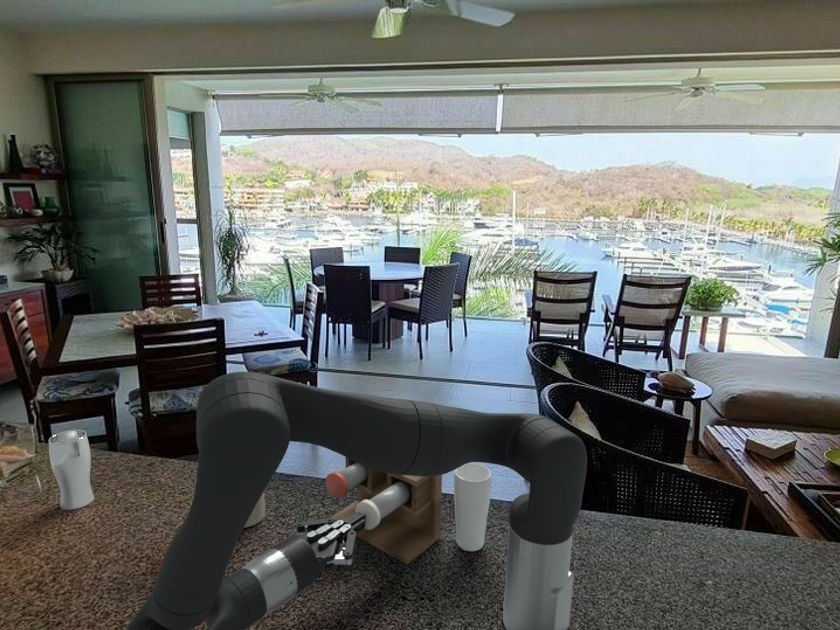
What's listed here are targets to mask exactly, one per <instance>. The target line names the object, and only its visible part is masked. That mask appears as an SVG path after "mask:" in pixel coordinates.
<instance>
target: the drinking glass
mask: <svg viewBox="0 0 840 630" xmlns="http://www.w3.org/2000/svg"><path fill="white" fill-rule="evenodd" d="M453 480H454V481H453V500H454V513H455V514H454V515H455V531H456V533H455V541H456V544H457V546H458V547H459V548H460V549H462V550H463V551H467V552H476V551H479V550H481V549H483V547H484V545H485V540H486V539H485V538H486V529H487V521H488V514H489V508H490V501H491V492H492V472H491V470H490V469H489V468H488V467H487V466H485V465H482V464H479V463H474V462H471V463H467V464H464V465H463V466H461V467H459V468H457V469H455V470H454V479H453Z"/></svg>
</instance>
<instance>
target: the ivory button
mask: <svg viewBox="0 0 840 630" xmlns="http://www.w3.org/2000/svg"><path fill="white" fill-rule="evenodd" d="M410 497H411V492H410V489H409V487H408V486H407V484H406V483H404V482H402V481H399V482H397V483H395V484H394V485H392V486H390V487H389V488H387V489H386V490H384V491H383V492H381V493H379V494H378V495H376V496H375V497H373V498H372V499H370V500H367V499H366V500H363V501H361V502H360V503H358V504H357V505H356V508H355V514H356V513H357V512H360V513H362V514H364V515H365V516H366V527H365V529H368V530H371V529H373V528H375V527H376V526H377V525H378V524H379V523H380V520H381V519H382V518H384V517H385V516H386V515H388V514H389V513H391V512H392V511H394V510H395V509H397V508H398V507H399V506H401V505H402V504H404V503H405V502H407V501H408V500H409V499H410Z"/></svg>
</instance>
